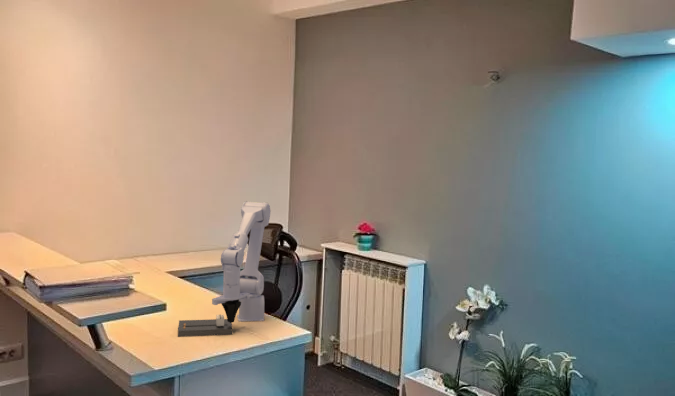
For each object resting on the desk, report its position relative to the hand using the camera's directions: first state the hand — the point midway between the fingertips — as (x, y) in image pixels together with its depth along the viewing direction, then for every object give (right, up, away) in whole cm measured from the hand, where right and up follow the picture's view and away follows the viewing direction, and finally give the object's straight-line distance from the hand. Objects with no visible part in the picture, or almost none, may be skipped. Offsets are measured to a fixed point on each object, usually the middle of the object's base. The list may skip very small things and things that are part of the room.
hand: (230, 321), depth 206 cm
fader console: (-9, -3, -1) cm, 9 cm away
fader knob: (-4, -1, -1) cm, 4 cm away
